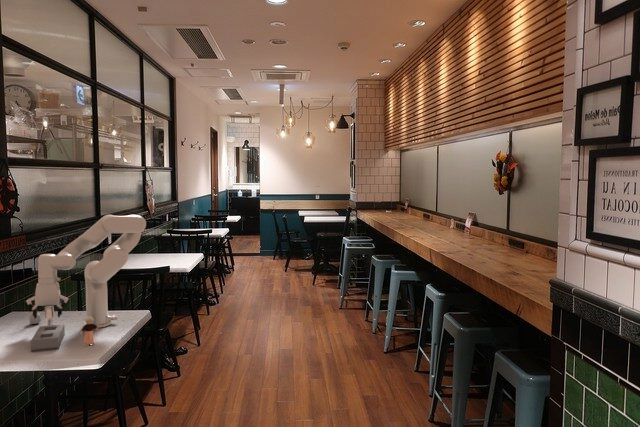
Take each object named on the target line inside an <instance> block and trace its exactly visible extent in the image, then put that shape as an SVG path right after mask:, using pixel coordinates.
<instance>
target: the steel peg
mask: <svg viewBox="0 0 640 427" xmlns="http://www.w3.org/2000/svg"><path fill="white" fill-rule="evenodd" d="M54 306H55V305H46V306H44V322H45V324H44V326H51V325H55V310H54V309H55V308H54Z"/></svg>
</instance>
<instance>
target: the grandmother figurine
mask: <svg viewBox="0 0 640 427" xmlns="http://www.w3.org/2000/svg"><path fill="white" fill-rule="evenodd" d="M92 321H93V317H91V316H88V317H87V316H86V317H85V318H84V323H85V322H86V323H87V324H86V325H85V326H82V328H81V330H80V333H79V335H81V336H82V335H83V334H84V340H83V347H84V346H86V347H89V346H88V345H89V344H94V345H95V342H94V337H95V336H94V330H95V331H96V332H98V331H99V329H100V328H97V326H96V325H95V324H91V323H92Z"/></svg>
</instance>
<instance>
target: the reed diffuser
mask: <svg viewBox="0 0 640 427" xmlns="http://www.w3.org/2000/svg"><path fill="white" fill-rule="evenodd" d="M30 286H31V288H34V289H31V291H32V292H31V293H32V297H34V296H35V292H36V286H35V284H33V285H32V283H30ZM23 289H24V291H25V293H26V295H27V298H28V299H30V298H31V297H30V296H29V294H28V292H27V290H26V288H25V287H23ZM32 301H33V305H35V299H34V300H32ZM28 316H29V317H28V318H29V324H31V325H32V324H33V325H34V324H39V323H41V321H42V316H41V314H40V312H38V311H37V318H34V316H33V312H31V313H30V314H29V315H28Z"/></svg>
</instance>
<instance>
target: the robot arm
mask: <svg viewBox="0 0 640 427" xmlns="http://www.w3.org/2000/svg"><path fill="white" fill-rule="evenodd" d="M146 227H147V221H146V219H145V218H144V217H143V216H141V215H138V214H135V213H134V214H128V215H113V214H106V215H103V217H101V218H100V219H99V220H98V221H96V222H95V223H94V224H93V225H92V226H90V228H88V229H87V230H86V231H85V232H83V233H82V234H81V235H80V236H78V237H77V238H75V239H74V240H72V241H71V242H70V243H69V244H67V245H66V246H65V247H64V248H63V249H62V250H60V252H58V253H57V255H56V254H54V253H43V254H40V255H39V256H38V269H37V270H38V276H37V277H38V280H37V281H38V282H37V283H36V286H35V287H36V292H35V296H34V295H33V296H34V297H33V296H32V297H29V298H30V299H29V298H28V299H27V300H26V301H25V303H27V305H28V307H29V308H30V309H31V310H32V313H33V316H34V318H37V312H38V308H37V307H39V306H42V307H43V306H57V317H58V318H60V317H61V315H63V307H64V306H66V304H67V302H68V300H69V297H66V296H64V295H62V294H61V289H60V283H59V282H60V281H61V277H58V270H59V271H60V270H62V271H67V270H71V269H74V267H75V266H76V264H77V258H79V256H81V255H82V254H83V253H85V252H87V251H89V250H91V249H94V248H96V247H97V246H99V245H100V244H101V243H102V242H103V241H104V240H105V239H106V238H108V237H109V236H110V235H111V234H121V236H120V237H118V238H117V240H115V241H114V242H113V243H112V244H111V245H109V246H108V247H107V248H106V249H105V250H104V252H103V254H102V255H103V257H102V258H101V259H100V260H93V261H89V262H88V263H87V264H86V266H85V268H84V280H85V281H84V282H85V302H86V303H85V304H86V306H85V308H86V309H85V310H86V317H88V316H91V317H93V321H92V323H91V324H95V325H96V326H97V328H98V329H100V328H105V327H107V326H110V325H111V324H112V321H118V317H119V316H118V315H110V313H109V311H108V310H109V307H108V281H109V280H110V279H111V278H112V277H113V276H115V275H116V274H117V272H119V271H120V270H121V269H122V268H123V267H125V265H126V263H127V261H128V259H129V256H128V255H129V253H131V251H132V250H133V249H134V248H135V247H136V246H137V245H138V243H139V241H140V240H141V237H142V232H143V231H144V230H145V229H146ZM33 300H34V303H35V305H34V303H33V302H32V301H33ZM61 300H63V302H62V303H61ZM86 324H87V323H86V322H85V321H84V323H83V324H82V325H83V326H82V327H84V326H85V325H86Z"/></svg>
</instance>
